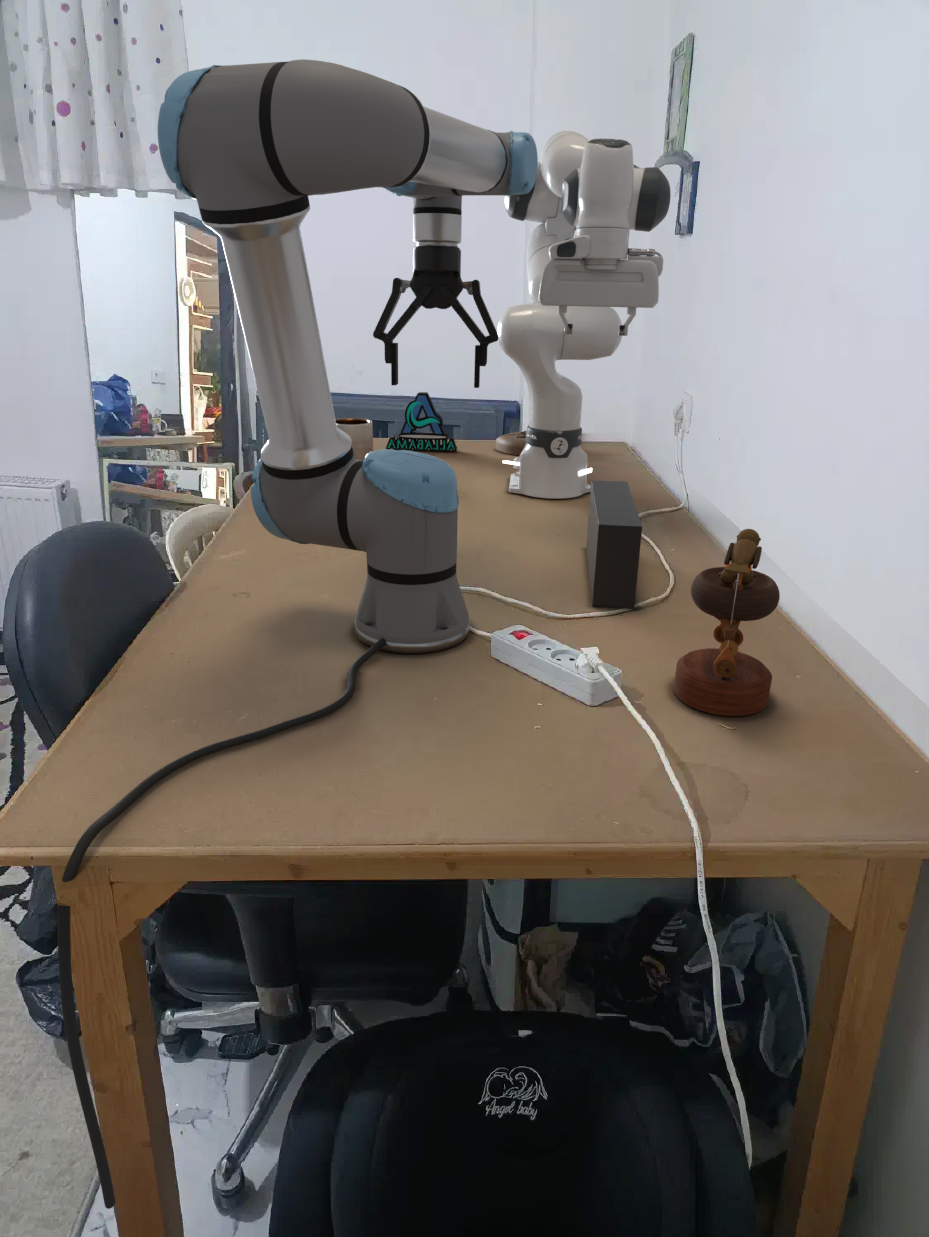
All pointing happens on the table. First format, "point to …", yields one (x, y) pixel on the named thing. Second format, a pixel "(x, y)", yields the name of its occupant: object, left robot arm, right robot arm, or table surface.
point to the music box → (729, 635)
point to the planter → (358, 435)
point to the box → (613, 544)
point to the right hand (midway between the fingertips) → (595, 335)
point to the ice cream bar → (511, 443)
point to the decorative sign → (412, 422)
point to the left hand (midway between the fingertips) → (435, 386)
